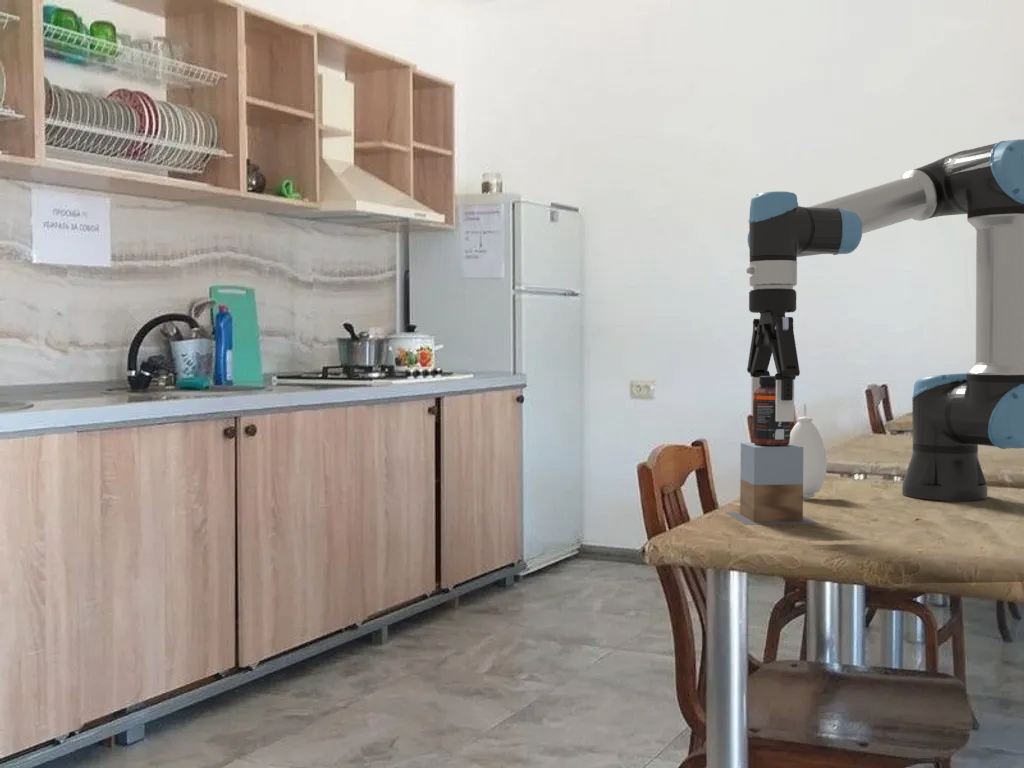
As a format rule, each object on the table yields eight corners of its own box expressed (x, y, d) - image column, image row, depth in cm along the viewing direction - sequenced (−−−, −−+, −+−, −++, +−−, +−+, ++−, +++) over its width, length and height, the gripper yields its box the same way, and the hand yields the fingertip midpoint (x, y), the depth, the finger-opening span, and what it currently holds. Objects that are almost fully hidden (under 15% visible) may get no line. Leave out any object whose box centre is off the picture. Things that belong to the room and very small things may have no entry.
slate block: (787, 478, 182) (787, 442, 182) (803, 484, 174) (803, 447, 174) (740, 478, 182) (740, 442, 182) (754, 484, 174) (754, 447, 174)
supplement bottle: (791, 447, 174) (791, 376, 174) (753, 446, 176) (753, 376, 175) (789, 443, 180) (789, 375, 180) (752, 443, 181) (752, 375, 181)
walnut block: (787, 513, 182) (787, 478, 182) (802, 521, 174) (803, 484, 174) (740, 514, 182) (740, 478, 182) (753, 522, 174) (754, 484, 174)
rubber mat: (794, 515, 185) (794, 511, 185) (819, 527, 173) (819, 523, 173) (725, 516, 184) (725, 512, 184) (744, 528, 172) (744, 524, 172)
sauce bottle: (810, 503, 199) (811, 405, 198) (774, 498, 204) (775, 403, 204) (834, 499, 204) (835, 403, 203) (798, 494, 210) (799, 401, 209)
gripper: (729, 291, 189) (729, 413, 190) (773, 284, 164) (772, 424, 165) (772, 292, 190) (771, 413, 190) (821, 284, 165) (820, 423, 165)
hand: (771, 418), depth 178 cm, fingers open, 13 cm apart
